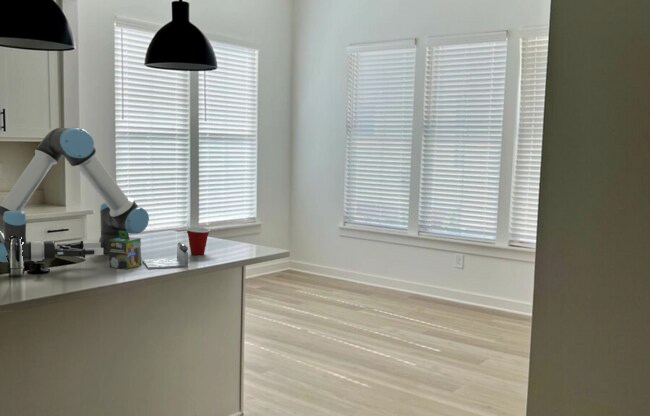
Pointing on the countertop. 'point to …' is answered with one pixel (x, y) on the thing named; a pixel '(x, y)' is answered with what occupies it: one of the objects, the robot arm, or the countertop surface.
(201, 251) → the plastic cup
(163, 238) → the countertop surface
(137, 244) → the chalk box
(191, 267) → the countertop surface
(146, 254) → the countertop surface
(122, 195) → the robot arm
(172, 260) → the shaft seat
